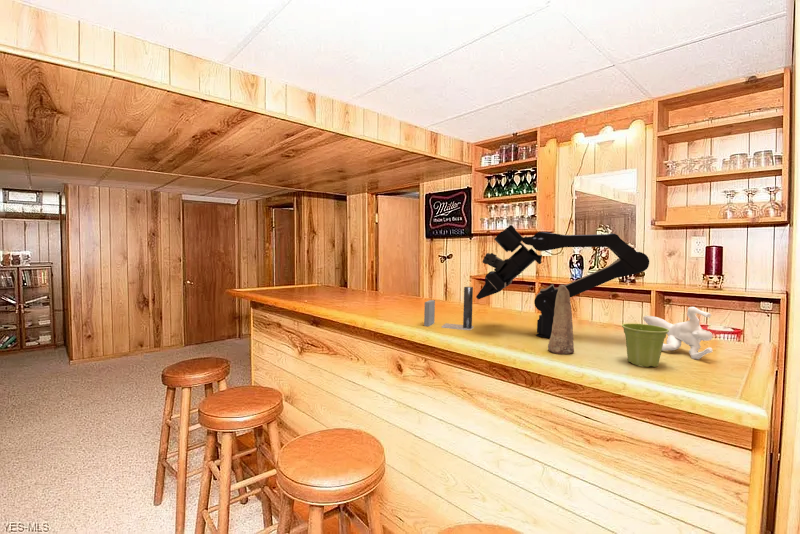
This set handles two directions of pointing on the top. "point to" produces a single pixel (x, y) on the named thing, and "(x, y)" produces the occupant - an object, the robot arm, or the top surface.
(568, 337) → the stone cone
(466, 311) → the upright dark post
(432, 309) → the tile
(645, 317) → the person figurine
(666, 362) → the top surface
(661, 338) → the plant pot
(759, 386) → the top surface
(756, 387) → the top surface
